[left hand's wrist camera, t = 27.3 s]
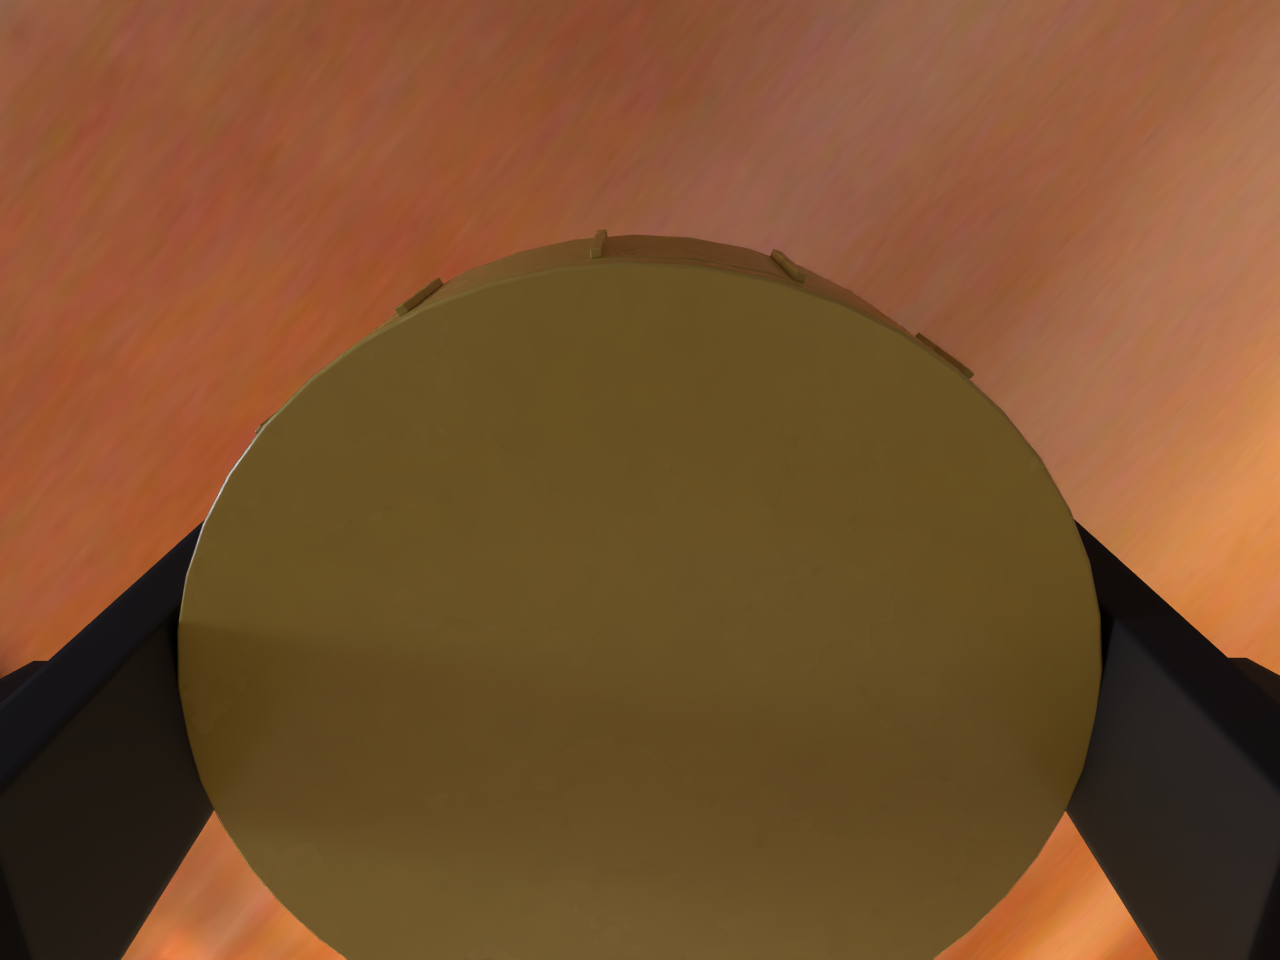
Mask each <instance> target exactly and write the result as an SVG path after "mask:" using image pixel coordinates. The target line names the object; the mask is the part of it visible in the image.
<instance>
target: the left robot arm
mask: <svg viewBox="0 0 1280 960" xmlns="http://www.w3.org/2000/svg"><path fill="white" fill-rule="evenodd" d="M204 521H205V520H204ZM204 521H203V522H202V523H201V524H199V525H198V526H197V527H196V528H195V529H194V530H193V531H192V532H191V533H189V534H188V535H187V536H186V537H185V538H184V539H183V540H182V541H181V542H179V543H178V544H177V545H176V546H175V547H174V548H173V549H172V550H171V551H169V552H168V553H167V554H166V555H165V556H164V557H163V558H162V559H161V560H159V561H158V562H157V563H156V564H155V565H154V566H153V567H152V568H151V569H149V570H148V571H147V572H146V573H145V574H144V575H143V576H142V577H141V578H139V579H138V580H137V581H136V582H135V583H134V584H133V585H132V586H131V587H130V588H128V589H127V590H126V591H125V592H124V593H123V594H122V595H121V596H120V597H118V598H117V599H116V600H115V601H114V602H113V603H112V604H111V605H110V606H108V607H107V608H106V609H105V610H104V611H103V612H102V613H101V614H100V615H98V616H97V617H96V618H95V619H94V620H93V621H92V622H91V623H90V624H88V625H87V626H86V627H85V628H84V629H83V630H82V631H81V632H80V633H78V634H77V635H76V636H75V637H74V638H73V639H72V640H71V641H70V642H68V643H67V644H66V645H65V646H64V647H63V648H62V649H61V650H60V651H59V652H57V653H56V654H55V655H54V656H53V657H52V658H51V659H50V660H49V661H33V662H31V663H29V664H27V665H25V666H23V667H22V668H20V669H18V670H16V671H14V672H12V673H10V674H9V675H7V676H5V677H3V678H1V679H0V960H121V959H122V957H123V956H124V954H125V952H126V951H127V949H128V948H129V946H130V944H131V943H132V941H133V940H134V938H135V936H136V935H137V933H138V932H139V930H140V928H141V927H142V925H143V924H144V922H145V920H146V919H147V917H148V915H149V914H150V912H151V911H152V909H153V907H154V906H155V904H156V903H157V901H158V899H159V898H160V896H161V895H162V893H163V891H164V890H165V888H166V887H167V885H168V883H169V882H170V880H171V879H172V877H173V875H174V874H175V872H176V871H177V869H178V867H179V866H180V864H181V863H182V861H183V859H184V858H185V856H186V855H187V853H188V851H189V850H190V848H191V846H192V845H193V843H194V842H195V840H196V838H197V837H198V835H199V834H200V832H201V830H202V829H203V827H204V826H205V824H206V822H207V821H208V819H209V818H210V816H211V814H212V813H213V811H214V808H213V806H212V804H211V802H210V800H209V797H208V795H207V793H206V791H205V789H204V787H203V785H202V783H201V780H200V777H199V774H198V771H197V768H196V765H195V761H194V758H193V754H192V750H191V746H190V742H189V737H188V733H187V728H186V723H185V718H184V713H183V708H182V703H181V699H180V694H179V689H178V645H177V631H178V624H179V617H180V611H181V604H182V598H183V592H184V585H185V579H186V574H187V571H188V568H189V565H190V562H191V559H192V556H193V553H194V550H195V547H196V544H197V541H198V538H199V535H200V531H201V528H202V525H203V523H204ZM1074 521H1075V524H1076V526H1077V529H1078V532H1079V535H1080V537H1081V540H1082V543H1083V545H1084V548H1085V551H1086V553H1087V556H1088V559H1089V561H1090V566H1091V571H1092V576H1093V581H1094V586H1095V591H1096V596H1097V601H1098V606H1099V611H1100V616H1101V642H1102V668H1103V670H1102V679H1101V687H1100V694H1099V699H1098V705H1097V710H1096V715H1095V720H1094V725H1093V729H1092V733H1091V738H1090V742H1089V746H1088V751H1087V755H1086V759H1085V764H1084V768H1083V771H1082V773H1081V775H1080V778H1079V780H1078V782H1077V784H1076V787H1075V789H1074V791H1073V793H1072V796H1071V798H1070V800H1069V803H1068V805H1067V807H1066V809H1065V811H1066V812H1067V814H1068V815H1069V817H1070V819H1071V820H1072V822H1073V823H1074V825H1075V827H1076V828H1077V830H1078V831H1079V833H1080V835H1081V836H1082V838H1083V839H1084V841H1085V843H1086V844H1087V846H1088V847H1089V849H1090V851H1091V852H1092V854H1093V855H1094V857H1095V859H1096V860H1097V862H1098V863H1099V865H1100V867H1101V868H1102V870H1103V871H1104V873H1105V875H1106V876H1107V878H1108V880H1109V881H1110V883H1111V884H1112V886H1113V888H1114V889H1115V891H1116V892H1117V894H1118V896H1119V897H1120V899H1121V900H1122V902H1123V904H1124V905H1125V907H1126V908H1127V910H1128V912H1129V913H1130V915H1131V916H1132V918H1133V920H1134V921H1135V923H1136V924H1137V926H1138V928H1139V929H1140V931H1141V932H1142V934H1143V936H1144V937H1145V939H1146V940H1147V942H1148V944H1149V945H1150V947H1151V949H1152V950H1153V952H1154V953H1155V955H1156V957H1157V958H1158V960H1280V675H1278V674H1276V673H1274V672H1272V671H1270V670H1268V669H1266V668H1265V667H1263V666H1261V665H1259V664H1257V663H1255V662H1253V661H1251V660H1250V659H1248V658H1228V657H1226V656H1225V655H1224V654H1223V653H1222V652H1221V651H1220V650H1219V649H1218V648H1216V647H1215V646H1214V645H1213V644H1212V643H1211V642H1210V641H1209V640H1208V639H1206V638H1205V637H1204V636H1203V635H1202V634H1201V633H1200V632H1199V631H1198V630H1196V629H1195V628H1194V627H1193V626H1192V625H1191V624H1190V623H1189V622H1188V621H1186V620H1185V619H1184V618H1183V617H1182V616H1181V615H1180V614H1179V613H1178V612H1176V611H1175V610H1174V609H1173V608H1172V607H1171V606H1170V605H1169V604H1168V603H1167V602H1165V601H1164V600H1163V599H1162V598H1161V597H1160V596H1159V595H1158V594H1157V593H1155V592H1154V591H1153V590H1152V589H1151V588H1150V587H1149V586H1148V585H1147V584H1145V583H1144V582H1143V581H1142V580H1141V579H1140V578H1139V577H1138V576H1137V575H1135V574H1134V573H1133V572H1132V571H1131V570H1130V569H1129V568H1128V567H1127V566H1125V565H1124V564H1123V563H1122V562H1121V561H1120V560H1119V559H1118V558H1117V557H1115V556H1114V555H1113V554H1112V553H1111V552H1110V551H1109V550H1108V549H1107V548H1105V547H1104V546H1103V545H1102V544H1101V543H1100V542H1099V541H1098V540H1097V539H1096V538H1094V537H1093V536H1092V535H1091V534H1090V533H1089V532H1088V531H1087V530H1086V529H1084V528H1083V527H1082V526H1081V525H1080V524H1079V523H1078V522H1077V521H1076V520H1074Z"/></svg>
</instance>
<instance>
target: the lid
mask: <svg viewBox="0 0 1280 960" xmlns="http://www.w3.org/2000/svg"><path fill="white" fill-rule="evenodd" d="M395 311H396V312H397V313H396V314H395V315H393V316H392V317H391V318H389V319H388V320H387V321H385V322H384V323H383V324H381V325H380V326H379V327H377V328H376V329H375V330H373V331H372V332H371V333H369V334H368V335H367V336H365V337H364V338H363V339H361V340H360V341H359V342H357V343H356V344H355V345H354V346H352V347H351V348H350V349H348V350H347V351H346V352H344V353H343V354H342V355H340V356H339V357H338V358H336V359H335V360H334V361H332V362H331V363H330V364H329V365H327V366H326V367H325V368H323V369H322V370H321V371H319V372H318V373H317V374H315V375H314V376H313V377H311V378H310V379H309V380H308V381H307V382H306V383H305V384H304V385H303V386H302V387H301V388H300V389H299V390H298V391H297V392H296V393H295V394H294V395H293V396H292V397H291V398H290V399H289V400H288V401H287V402H286V403H285V404H284V405H283V406H282V407H281V408H280V409H279V410H278V411H277V412H276V413H275V414H273V415H272V416H271V417H270V418H268V419H267V420H266V421H264V422H263V423H262V424H261V425H260V426H259V427H258V428H257V430H256V431H255V432H256V433H257V435H256V437H255V438H254V439H253V441H252V442H251V443H250V445H249V446H248V447H247V449H246V450H245V452H244V453H243V454H242V456H241V457H240V458H239V460H238V461H237V463H236V464H235V465H234V467H233V468H232V469H231V471H230V472H229V474H228V476H227V478H226V480H225V482H224V484H223V486H222V488H221V490H220V492H219V494H218V495H217V497H216V499H215V501H214V503H213V505H212V507H211V509H210V511H209V513H208V515H207V517H206V519H205V521H204V523H203V525H202V528H201V531H200V535H199V538H198V541H197V544H196V547H195V550H194V553H193V556H192V559H191V562H190V565H189V568H188V571H187V574H186V579H185V585H184V592H183V598H182V604H181V611H180V617H179V624H178V631H177V645H178V689H179V694H180V699H181V703H182V708H183V713H184V718H185V723H186V728H187V733H188V737H189V742H190V746H191V750H192V754H193V758H194V761H195V765H196V768H197V771H198V774H199V777H200V780H201V783H202V785H203V787H204V789H205V791H206V793H207V795H208V797H209V800H210V802H211V804H212V806H213V808H214V810H215V812H216V814H217V816H218V818H219V820H220V822H221V824H222V826H223V828H224V830H225V831H226V833H227V834H228V836H229V837H230V839H231V840H232V842H233V843H234V845H235V846H236V848H237V849H238V851H239V852H240V854H241V855H242V857H243V858H244V860H245V861H246V863H247V864H248V866H249V867H250V869H251V870H252V871H253V872H254V873H255V875H256V876H257V877H258V878H259V879H260V880H261V882H262V883H263V884H264V885H265V886H266V887H267V889H268V890H269V891H270V892H271V893H272V894H273V895H274V897H275V898H276V899H277V900H278V901H279V902H280V904H281V905H282V906H283V907H284V908H285V909H286V910H287V911H289V912H290V913H291V914H292V915H293V916H294V917H295V918H296V919H297V920H298V921H300V922H301V923H302V924H303V925H304V926H305V927H306V928H307V929H308V930H309V931H311V932H312V933H313V934H314V935H315V936H316V937H317V938H318V939H319V940H321V941H322V942H323V943H325V944H326V945H328V946H329V947H330V948H332V949H333V950H334V951H336V952H337V953H339V954H340V955H341V956H343V957H344V958H346V959H347V960H933V959H934V958H936V957H937V956H938V955H940V954H941V953H942V952H943V951H945V950H946V949H947V948H949V947H950V946H951V945H953V944H954V943H955V942H956V941H958V940H959V939H960V938H962V937H963V936H964V935H966V934H967V933H968V932H969V931H971V930H972V929H973V928H974V927H975V926H976V925H977V924H978V923H979V922H980V921H981V920H982V919H983V918H984V917H985V916H986V915H987V914H988V913H989V912H990V911H991V910H992V909H993V908H994V907H995V906H996V905H997V904H998V903H999V902H1001V901H1002V900H1003V899H1004V898H1005V897H1006V895H1007V894H1008V893H1009V892H1010V891H1011V889H1012V888H1013V887H1014V886H1015V884H1016V883H1017V882H1018V881H1019V879H1020V878H1021V877H1022V876H1023V874H1024V873H1025V872H1026V871H1027V869H1028V868H1029V867H1030V866H1031V864H1032V863H1033V862H1034V861H1035V860H1036V858H1037V857H1038V855H1039V854H1040V852H1041V850H1042V849H1043V847H1044V845H1045V844H1046V842H1047V840H1048V839H1049V837H1050V836H1051V834H1052V832H1053V831H1054V829H1055V827H1056V826H1057V824H1058V823H1059V821H1060V819H1061V818H1062V816H1063V814H1064V812H1065V809H1066V807H1067V805H1068V803H1069V800H1070V798H1071V796H1072V793H1073V791H1074V789H1075V787H1076V784H1077V782H1078V780H1079V778H1080V775H1081V773H1082V771H1083V768H1084V764H1085V759H1086V755H1087V751H1088V746H1089V742H1090V738H1091V733H1092V729H1093V725H1094V720H1095V715H1096V710H1097V705H1098V699H1099V694H1100V687H1101V679H1102V670H1103V668H1102V642H1101V616H1100V611H1099V606H1098V601H1097V596H1096V591H1095V586H1094V581H1093V576H1092V571H1091V566H1090V561H1089V559H1088V556H1087V553H1086V551H1085V548H1084V545H1083V543H1082V540H1081V537H1080V535H1079V532H1078V529H1077V526H1076V524H1075V521H1074V518H1073V516H1072V513H1071V510H1070V508H1069V507H1068V505H1067V503H1066V501H1065V500H1064V498H1063V496H1062V494H1061V493H1060V491H1059V489H1058V487H1057V485H1056V484H1055V482H1054V480H1053V478H1052V477H1051V475H1050V473H1049V471H1048V470H1047V468H1046V466H1045V464H1044V463H1043V461H1042V459H1041V458H1040V457H1039V455H1038V454H1037V453H1036V451H1035V450H1034V449H1033V448H1032V446H1031V445H1030V444H1029V443H1028V441H1027V440H1026V439H1025V438H1024V436H1023V435H1022V434H1021V433H1020V431H1019V430H1018V429H1017V428H1016V426H1015V425H1014V424H1013V423H1012V421H1011V420H1010V419H1009V418H1008V416H1007V415H1006V414H1005V412H1004V411H1003V410H1002V409H1001V408H999V407H998V406H997V405H996V404H995V403H994V402H993V401H992V400H991V399H990V398H989V397H988V396H987V395H985V394H984V393H983V392H982V391H981V390H980V389H979V388H978V387H977V386H976V385H975V384H974V383H972V382H971V381H970V380H969V379H970V378H971V377H972V376H973V375H974V373H973V372H972V371H970V370H969V369H968V368H967V367H966V366H964V365H963V364H962V363H960V362H959V361H957V360H956V359H955V358H953V357H952V356H951V355H949V354H948V353H947V352H945V351H944V350H942V349H941V348H940V347H938V346H937V345H936V344H934V343H933V342H931V341H930V340H929V339H927V338H926V337H925V336H923V335H922V334H921V333H918V334H917V335H916V336H914V335H913V334H911V333H910V332H909V331H907V330H906V329H905V328H903V327H902V326H901V325H899V324H898V323H897V322H895V321H894V320H892V319H891V318H889V317H888V316H887V315H885V314H884V313H882V312H881V311H879V310H878V309H876V308H875V307H873V306H872V305H871V304H869V303H868V302H866V301H865V300H863V299H862V298H860V297H859V296H857V295H856V294H854V293H853V292H852V291H850V290H848V289H846V288H844V287H842V286H840V285H838V284H836V283H834V282H832V281H830V280H828V279H826V278H824V277H822V276H820V275H818V274H816V273H814V272H812V271H809V270H807V269H805V268H803V267H801V266H799V265H796V264H795V263H793V262H792V261H791V260H790V259H789V258H788V257H787V256H785V255H784V254H783V253H782V252H781V251H778V250H775V249H773V251H772V253H771V256H769V255H766V254H763V253H760V252H757V251H754V250H751V249H748V248H743V247H738V246H732V245H727V244H722V243H716V242H711V241H705V240H700V239H695V238H688V237H668V236H647V235H623V236H611V237H607V230H598V231H597V233H596V236H595V238H588V239H576V240H571V241H566V242H562V243H557V244H553V245H548V246H544V247H539V248H535V249H530V250H526V251H522V252H517V253H515V254H512V255H509V256H507V257H504V258H501V259H499V260H496V261H493V262H491V263H488V264H485V265H483V266H480V267H477V268H475V269H472V270H469V271H467V272H464V273H462V274H461V275H459V276H457V277H455V278H453V279H451V280H450V281H448V282H446V283H444V284H443V283H442V281H441V279H440V278H437V279H435V280H433V281H432V282H430V283H429V284H427V285H426V286H425V287H423V288H422V289H421V290H419V291H418V292H417V293H415V294H414V295H413V296H411V297H410V298H408V299H407V300H406V301H404V302H403V303H402V304H400V305H399V306H398V307H396V308H395Z"/></svg>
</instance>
